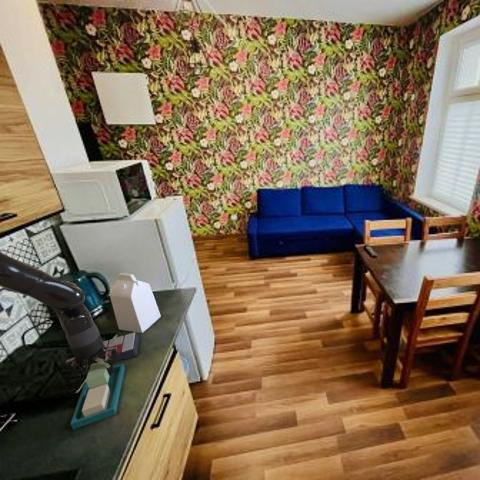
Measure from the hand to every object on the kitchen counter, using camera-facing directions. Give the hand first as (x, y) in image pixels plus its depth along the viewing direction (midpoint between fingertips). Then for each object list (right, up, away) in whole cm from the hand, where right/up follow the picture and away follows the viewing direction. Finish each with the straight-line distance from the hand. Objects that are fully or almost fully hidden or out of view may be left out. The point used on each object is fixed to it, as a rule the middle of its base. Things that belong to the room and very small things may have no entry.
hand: (101, 376), depth 92 cm
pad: (+4, -7, -5) cm, 9 cm away
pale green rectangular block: (0, 0, 0) cm, 0 cm away
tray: (+2, -6, -2) cm, 6 cm away
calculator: (-6, +1, +15) cm, 17 cm away
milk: (-8, +8, +32) cm, 34 cm away
